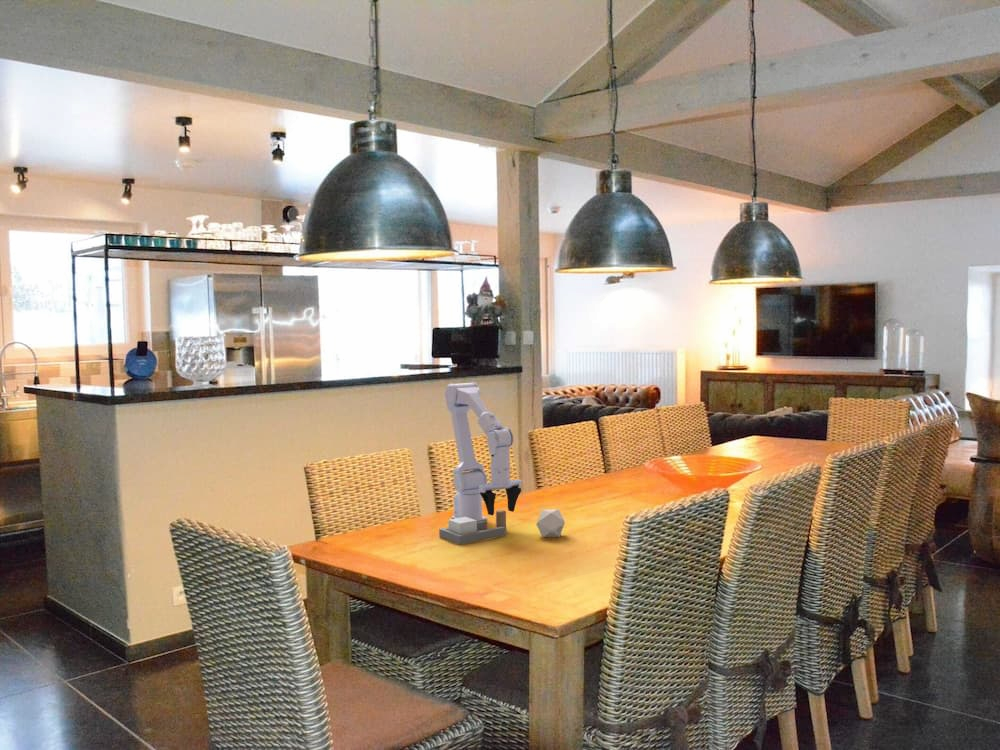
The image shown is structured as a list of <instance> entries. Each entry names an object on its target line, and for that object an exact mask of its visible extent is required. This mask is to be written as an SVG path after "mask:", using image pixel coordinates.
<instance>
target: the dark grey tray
mask: <svg viewBox="0 0 1000 750" xmlns="http://www.w3.org/2000/svg"><path fill="white" fill-rule="evenodd" d="M487 521H488V520H487ZM487 521H486V520H481V521H477V532H471V533H466V534H461V535H460V534H457V533H454V532H452V531H449V526H448V527H442V528H439V534H438V535H439V538H441V539H443V540H446V541H448V542H450V543H453V544H456V545H459V546H461V545H466V544H472V543H475V542H482V541H486V540H491V539H497V538H501V537H506V531H505V527H497V528H496V527H494V528H488V522H487Z"/></svg>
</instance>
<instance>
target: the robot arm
mask: <svg viewBox="0 0 1000 750" xmlns="http://www.w3.org/2000/svg"><path fill="white" fill-rule="evenodd" d="M444 396H445V402H446V407H447V410H448V411H449V412H450V417H451V422H452V429H453V432H454V439H455V444H456V449H457V456H458V461H459V463H458V464H457V466H456V467H455V468H454V469H453V470H452V472H453V479H452V481H453V482H452V483H453V487H454V490H455V491H456V493H455V494H454V497H453V515H452V516H451V519H455V518H461V517H468V518H471V519H474V520H477V522H480V521H486V520H487V521H488V517H486V516H483V502H484V504H485V507H486V510H487V514H488V516H494V515H495V501H496V500H495V499H496V496H497V493H495V492H493V491H500V490H505V492H506V493H505V494H506V498H507V511H509V512H515V509H516V503H517V501H518V499H519V496H520V494H521V493H522V488H521V487H522V486H523V485H522V480H521V479H511V469H510V467H511V466H510V465H511V463H510V462H511V458H510V457H511V456H510V447H512V446H513V443H514V434H513V432H512V430H511V429H510V428H509V427H506V426H503V425H502V423H501V422H500V420H499V419H498V418H497V416H496V414H495V413H494V412H492V411H489V410H488V409H487V407H486V404H485V403H484V402H483V400H482V398H481V389H480V387H479V385H478V384H477V382H475V381H472V382H465V383H462V382H461V383H448V384H447V386H446V388H445V392H444ZM469 410H472V412H473V413H474V414H475V415H476V416H477V418H478V421H477V423H478V426H479V427H480V428H481V430H482V431H483V433H484V434H485V436H486V438H485V439H486V445H487V446H488V453H489V454H490V476H491V477H490V482H488V476H487V473H486V472H485V469H484V465H483V464H481V463H480V462H478V461H477V460H476V455H475V451H474V445H473V441H472V439H473V438H472V434H471V429H470V424H469V417H468V413H469Z"/></svg>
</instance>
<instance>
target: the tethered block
mask: <svg viewBox="0 0 1000 750" xmlns="http://www.w3.org/2000/svg"><path fill="white" fill-rule="evenodd" d="M477 522H478V521H477V520H474V519H471V518H468V517H461V518H455V519H454V518H449V519H448V521H447V523H448V527H449V531H452V532H454V533H457V534H460V535H461V534H466V533H471V532H477ZM495 526H496V527H495V528H497V527H505V532H507V511H506V510H496V511H495Z"/></svg>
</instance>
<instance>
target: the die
mask: <svg viewBox="0 0 1000 750" xmlns="http://www.w3.org/2000/svg"><path fill="white" fill-rule="evenodd" d="M565 523H566V520H565V519H564V517H563V515H562V513H561V510H560V509H559V508H557V509H556V508H555V509H553V508H552V509H541V510H540V513H539V515H538V519H537V522H536V527H537V529H538V532H539V533H540V536H541V537H542V538H560V537H561V534H562V531H563V528H564V526H565Z"/></svg>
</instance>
